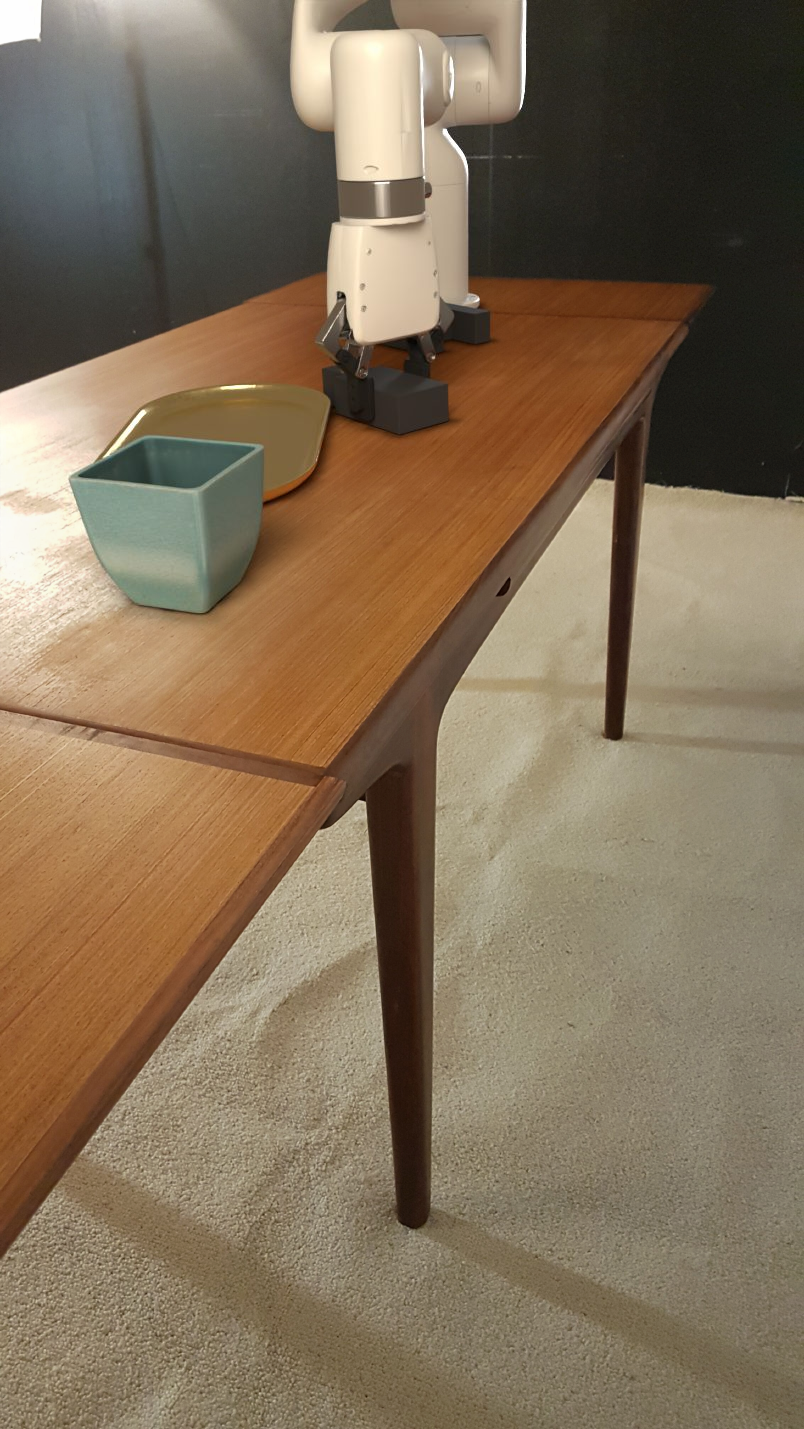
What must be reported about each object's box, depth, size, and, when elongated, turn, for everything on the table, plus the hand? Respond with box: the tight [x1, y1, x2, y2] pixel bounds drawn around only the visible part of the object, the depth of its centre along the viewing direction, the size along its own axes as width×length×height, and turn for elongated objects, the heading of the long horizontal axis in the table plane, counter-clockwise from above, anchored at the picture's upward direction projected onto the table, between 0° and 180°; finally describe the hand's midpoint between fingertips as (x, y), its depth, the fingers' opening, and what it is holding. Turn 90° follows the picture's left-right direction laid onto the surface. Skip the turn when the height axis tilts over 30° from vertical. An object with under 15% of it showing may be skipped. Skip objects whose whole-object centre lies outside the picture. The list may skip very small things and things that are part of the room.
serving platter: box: [93, 382, 332, 504], centre depth 91 cm, size 19×35×2 cm, turn 179°
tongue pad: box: [321, 364, 449, 435], centre depth 99 cm, size 14×6×4 cm, turn 39°
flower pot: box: [67, 435, 264, 614], centre depth 64 cm, size 9×9×9 cm
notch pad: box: [379, 303, 491, 354], centre depth 125 cm, size 10×10×4 cm
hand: (390, 408), depth 98 cm, fingers closed on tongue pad, 6 cm apart
